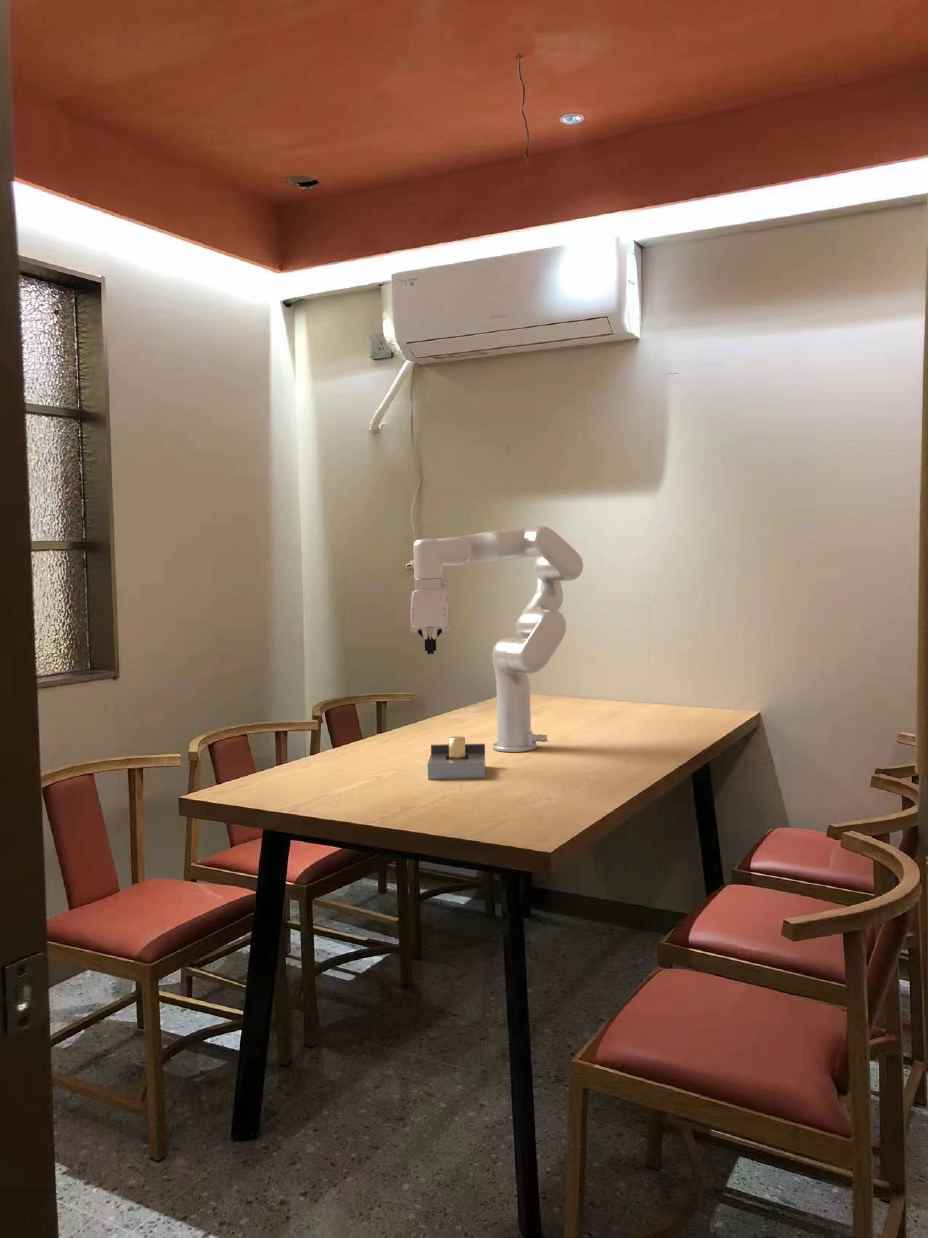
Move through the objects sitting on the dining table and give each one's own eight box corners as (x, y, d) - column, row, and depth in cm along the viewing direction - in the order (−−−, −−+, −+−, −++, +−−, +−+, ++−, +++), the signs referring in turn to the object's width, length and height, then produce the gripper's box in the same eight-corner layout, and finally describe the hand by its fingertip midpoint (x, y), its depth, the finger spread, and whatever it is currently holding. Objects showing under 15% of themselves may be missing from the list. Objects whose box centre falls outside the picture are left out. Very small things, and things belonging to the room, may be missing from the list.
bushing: (466, 770, 250) (465, 736, 249) (465, 774, 246) (464, 739, 245) (449, 771, 250) (448, 736, 249) (449, 774, 246) (448, 739, 245)
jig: (485, 766, 254) (484, 743, 254) (484, 778, 240) (483, 754, 240) (432, 767, 255) (431, 744, 255) (428, 779, 241) (427, 755, 241)
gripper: (457, 584, 263) (459, 651, 265) (402, 585, 264) (404, 653, 265) (455, 585, 256) (458, 654, 257) (399, 586, 256) (401, 656, 258)
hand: (430, 653), depth 261 cm, fingers closed
